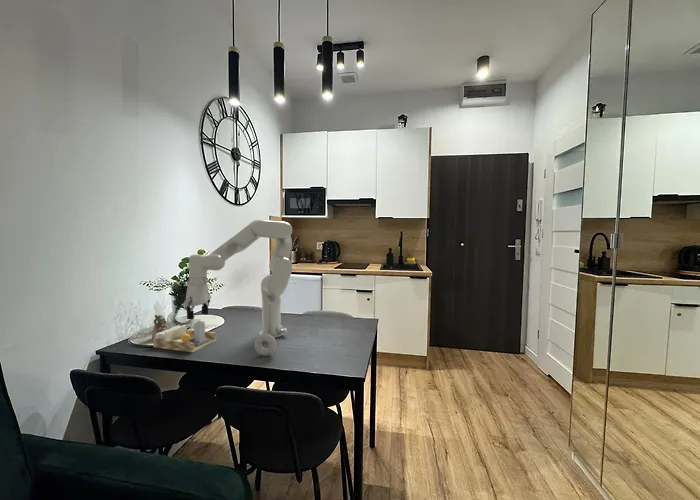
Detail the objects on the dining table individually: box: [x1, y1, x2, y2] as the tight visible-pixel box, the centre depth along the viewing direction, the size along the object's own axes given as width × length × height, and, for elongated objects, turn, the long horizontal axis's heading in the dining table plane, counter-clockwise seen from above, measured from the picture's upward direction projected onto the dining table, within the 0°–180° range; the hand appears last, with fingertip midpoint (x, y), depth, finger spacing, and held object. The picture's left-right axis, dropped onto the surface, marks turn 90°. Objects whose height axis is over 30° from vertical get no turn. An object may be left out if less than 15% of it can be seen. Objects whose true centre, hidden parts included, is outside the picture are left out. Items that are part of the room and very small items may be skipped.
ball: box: [181, 333, 190, 342], centre depth 156 cm, size 4×4×4 cm
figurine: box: [151, 314, 168, 340], centre depth 163 cm, size 7×7×12 cm
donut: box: [253, 334, 277, 357], centre depth 143 cm, size 10×4×10 cm, turn 87°
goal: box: [156, 324, 187, 340], centre depth 158 cm, size 6×14×6 cm, turn 165°
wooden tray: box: [152, 328, 217, 353], centre depth 156 cm, size 22×16×4 cm
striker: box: [189, 320, 210, 346], centre depth 154 cm, size 5×8×10 cm, turn 165°
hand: (197, 316), depth 153 cm, fingers open, 9 cm apart
